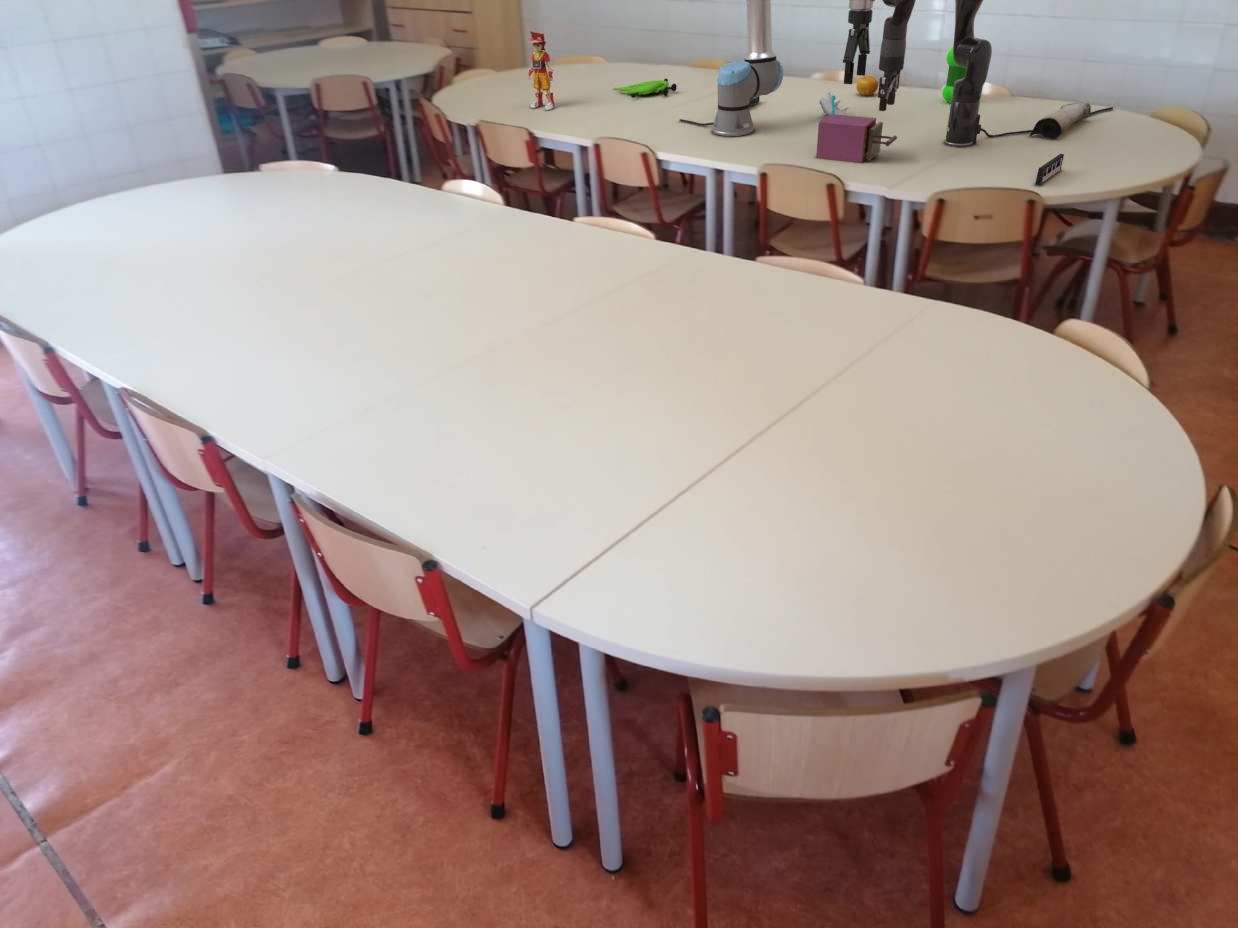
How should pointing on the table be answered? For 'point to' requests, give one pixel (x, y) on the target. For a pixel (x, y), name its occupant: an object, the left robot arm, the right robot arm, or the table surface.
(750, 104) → the disk drive
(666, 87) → the toy
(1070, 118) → the rolled mat
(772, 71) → the left robot arm
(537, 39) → the toy
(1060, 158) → the midi keyboard
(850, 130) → the cabinet
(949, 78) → the green dumbbell
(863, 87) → the fruit
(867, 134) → the drawer
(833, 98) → the anatomical model
